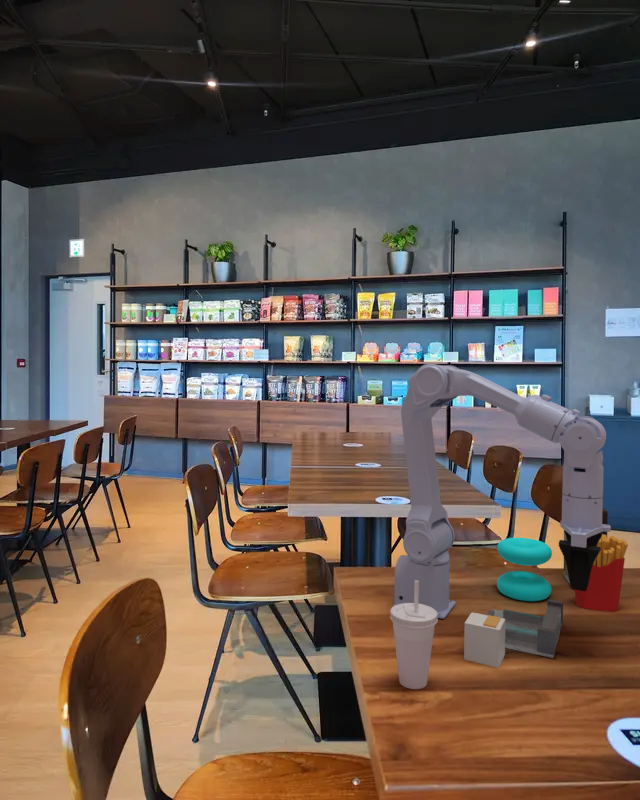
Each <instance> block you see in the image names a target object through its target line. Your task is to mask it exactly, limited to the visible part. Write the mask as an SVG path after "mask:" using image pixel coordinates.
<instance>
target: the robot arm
mask: <svg viewBox="0 0 640 800" xmlns="http://www.w3.org/2000/svg"><path fill="white" fill-rule="evenodd" d="M408 384H409V385H408V390H407V392H406V395H405V397H404V400H403V403H402V406H401V411H400V413H401V423H402V425H401V426H402V433H403V443H404V451H405V452H404V453H405V460H406V470H407V471H406V472H407V479H408V486H409V487H408V489H409V496H410V510H409V512H408V514H407V517H406V520H405V527H406V529H405V533H404V536H403V540H402V544H403V545H402V547H403V550H404V552H405V553H406V555H405V554H402V555H399V557H398V558H397V560H396V563H395V568H394V596H393V597H394V598H393V599H394V603H393V605H392V607H394V606H395V605H398V604H403V603H414V582H415V580H418V581H419V598H418V604H423V605H427V606H429V607H431V608H433V609H434V610H436V612H437V619H445V618H447V616H448V615H449V613H450V612H451V610H452V609H454V607H455V606H456V603H457V602H456V600H450V555H449V549H451V548H452V546H453V545H454V543H455V541H456V540H455V538H456V537H455V536H456V535H455V531H454V528H453V527H452V525H451V523H450V521H449V517H448V511H447V510H446V509H445V507H444V506H443V505H442V504H443V503H442V502H441V492H440V483H439V473H438V466H437V458H436V457H437V455H436V449H435V439H434V431H433V422H432V419H433V417H434V416H435V415H436V414H437V413H438V411H440V409H441V408H442V407H443V406H444V405H447V404H448V403H450V402H452V401H453V400H455V399H456V398H458V397H463V396H465V397H467V396H468V397H469V396H470V397H474V398H476V399H478V400H480V401H483V402H484V403H487V404H489V405H491V406H494V407H496V408H498V409H501V410H502V411H506V412H508V413H510V414H512V415H514V417H515V419H516V422H517V424H518V426H520V427H521V428H522V429H526V430H527V431H529V432H531V433H532V434H535V435H537V436H539V437H541V438H544V439H546V440H547V441H550V442H551V443H554V444H558V443H559V444H560V446H561V448H562V449H563V451H564V453H563V464H562V487H561V488H562V490H561V491H562V493H561V496H562V497H561V520H559V521H560V523H559V526H560V528H561V529H563V534H564V533H565V535H566V537H567V539H568V541H566V540H564V539H559V541H558V547H559V549H560V552H561V554H562V556H563V559H564V558H565V562H566V565H567V570H568V576H569V582H570V584H569V587H570V589H571V590H573V591H575V590H580V591H586V590H587V588H588V584H589V579H590V574H591V569H592V566H593V563H594V561H595V559H596V557H597V556H598V554H599V552H600V549H601V547H596V546H597V544H598V542H599V540H600V538H601V537H602V532H603V531H604V532H607V533H610V532H611V529H612V527H611V525H610V524H608V525H605V524H602V508H604V507H603V506H604V505H603V499H604V498H603V497H604V465H603V462H604V456H603V452H604V451H603V450H601V449H602V448H604V446H605V443H606V439H607V431H606V429H605V427H604V426H603V424H602V423H601V422H599V421H598V420H596V419H595V418H594V417H593V416H588V415H585V416H580V414H581V411H580V410H578V409H576V408H574V409H571V410H570V409H569V408H567V407H565V406H562V405H559V404H558V403H555V402H554V401H551V400H552V397H551V396H549V395H547V394H542V395H541V396H539V395H538V394H532V395H530V396H527V397H524V396H522V395H519V394H518V393H515V392H513V391H511V390H509V389H508V388H506V387H503V386H502V385H499V384H497V383H496V382H493V381H492V380H489V379H487V378H486V377H483V376H481V375H480V374H477V373H474V372H472V371H469V370H467V369H461V368H458V367H456V366H455V365H447V364H446V365H440V364H436V363H427V364H423V365H422V366H420V367H419V368H418V369H417V370H416V371H414V372H413V374H412V375H411V376H410V377H409V378H408Z"/></svg>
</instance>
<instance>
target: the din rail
mask: <svg viewBox="0 0 640 800" xmlns="http://www.w3.org/2000/svg"><path fill="white" fill-rule="evenodd" d="M564 602H565V601H561V600H554V599H550V598H548V599H547V608H546V611H545V613H544V616H541V615H536V614H530V613H527V612H526V613H525V612H520V611H515V610H509V609H503V610H498V609H495V608H492V609H489V610H488V612H487V613H486V615H491V616H496V617H501V618H504V619H505V649H510V650H514V651H518V652H523V653H528V654H532V655H537V656H542V657H545V658H551V659H554V657H555V655H556V650H557V649H556V648H557V645H558V641H559V637H560V633H561V630H562V625H563V624H564Z"/></svg>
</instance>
